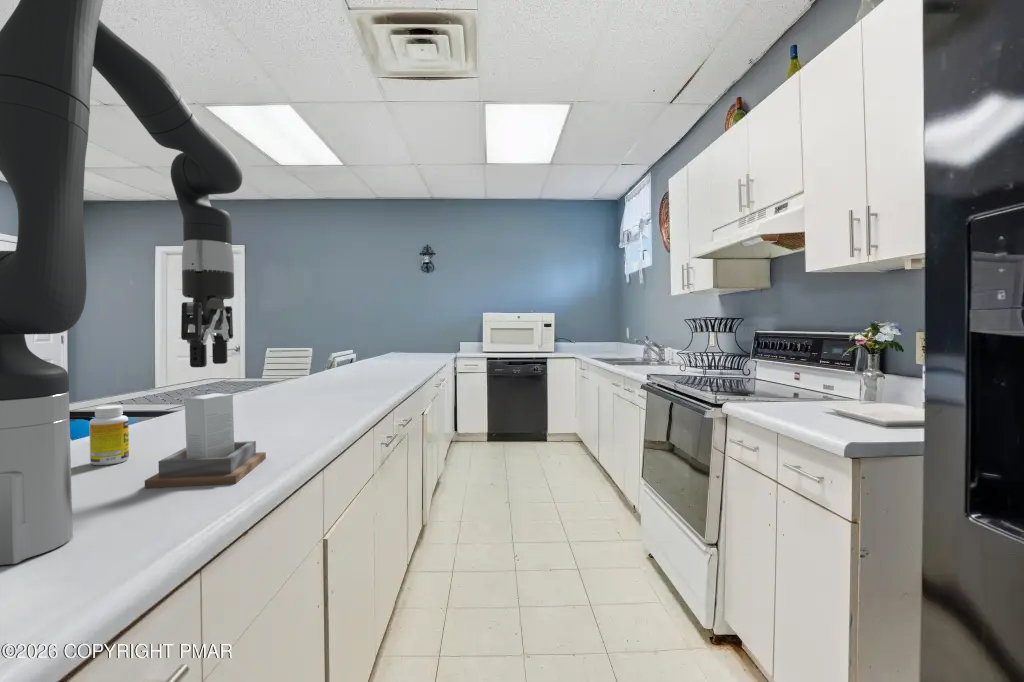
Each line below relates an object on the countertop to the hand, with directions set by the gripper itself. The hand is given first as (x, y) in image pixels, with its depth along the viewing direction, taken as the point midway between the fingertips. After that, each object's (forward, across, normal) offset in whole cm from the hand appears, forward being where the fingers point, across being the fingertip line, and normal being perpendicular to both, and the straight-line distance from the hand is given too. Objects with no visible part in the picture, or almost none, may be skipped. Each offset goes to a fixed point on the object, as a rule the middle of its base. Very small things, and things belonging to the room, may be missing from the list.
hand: (209, 365), depth 84 cm
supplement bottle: (+18, -10, -21) cm, 30 cm away
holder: (+18, 0, 0) cm, 18 cm away
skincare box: (+17, 0, 0) cm, 17 cm away
